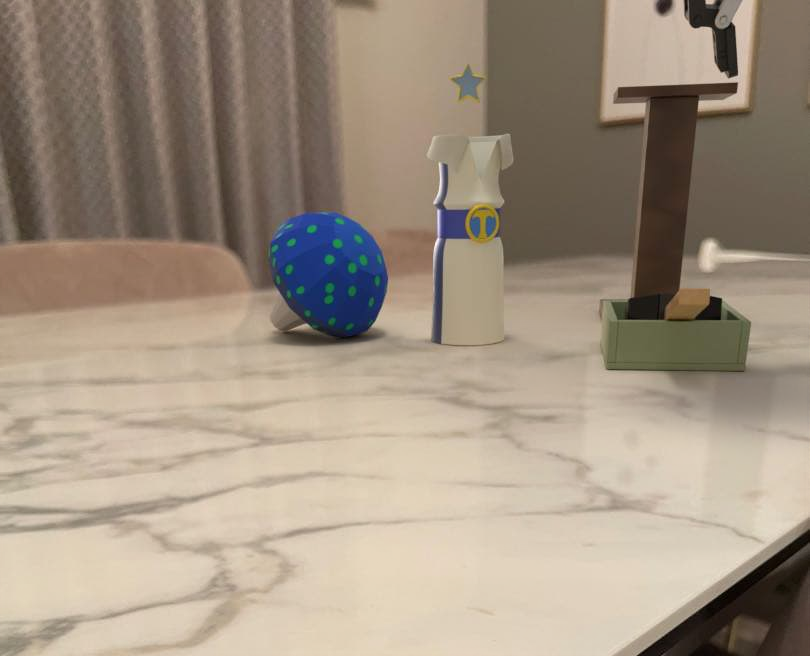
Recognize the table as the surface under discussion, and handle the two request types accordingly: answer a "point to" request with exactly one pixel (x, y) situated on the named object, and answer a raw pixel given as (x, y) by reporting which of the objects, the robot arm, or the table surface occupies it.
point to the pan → (675, 306)
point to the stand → (665, 180)
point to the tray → (674, 341)
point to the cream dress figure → (469, 232)
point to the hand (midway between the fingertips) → (787, 55)
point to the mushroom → (326, 275)
